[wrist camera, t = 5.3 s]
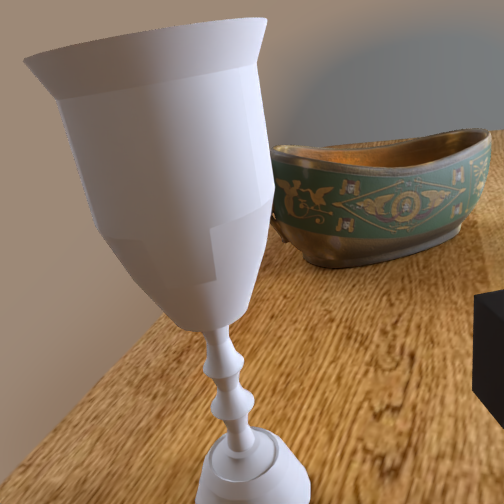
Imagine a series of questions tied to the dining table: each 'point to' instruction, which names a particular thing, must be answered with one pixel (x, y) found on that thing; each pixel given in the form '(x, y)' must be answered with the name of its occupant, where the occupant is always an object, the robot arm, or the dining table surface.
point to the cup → (377, 196)
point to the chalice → (184, 205)
